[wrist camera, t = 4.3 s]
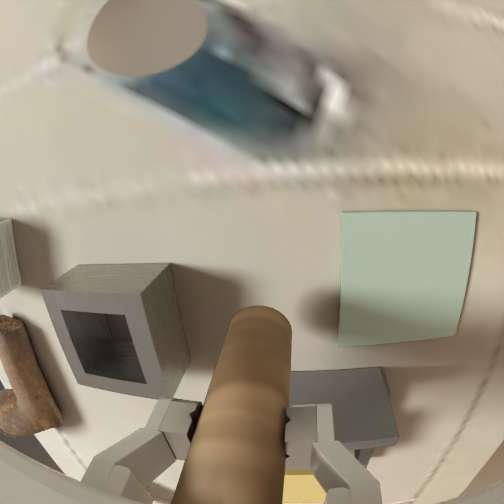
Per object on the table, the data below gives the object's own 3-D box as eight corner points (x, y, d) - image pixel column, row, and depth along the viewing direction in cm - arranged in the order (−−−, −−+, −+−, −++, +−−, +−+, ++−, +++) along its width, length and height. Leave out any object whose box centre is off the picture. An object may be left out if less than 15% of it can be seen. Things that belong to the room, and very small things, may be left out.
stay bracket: (77, 264, 19) (41, 289, 15) (170, 263, 18) (140, 293, 14) (104, 351, 21) (78, 383, 17) (190, 360, 20) (171, 401, 16)
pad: (341, 211, 15) (342, 212, 15) (472, 210, 14) (476, 212, 14) (337, 343, 18) (338, 346, 18) (452, 332, 17) (455, 335, 16)
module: (285, 406, 20) (280, 475, 15) (348, 404, 20) (356, 471, 14) (286, 441, 22) (281, 502, 16) (341, 439, 21) (345, 500, 16)
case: (250, 371, 19) (235, 442, 14) (386, 366, 18) (408, 434, 13) (260, 458, 23) (251, 514, 17) (363, 455, 22) (369, 511, 16)
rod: (225, 305, 14) (148, 509, 5) (290, 305, 14) (277, 528, 5) (232, 355, 15) (181, 540, 6) (292, 355, 15) (279, 552, 6)
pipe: (-1, 342, 17) (-62, 324, 16) (66, 466, 22) (2, 442, 22) (37, 304, 23) (-27, 295, 22) (83, 426, 28) (22, 408, 28)
